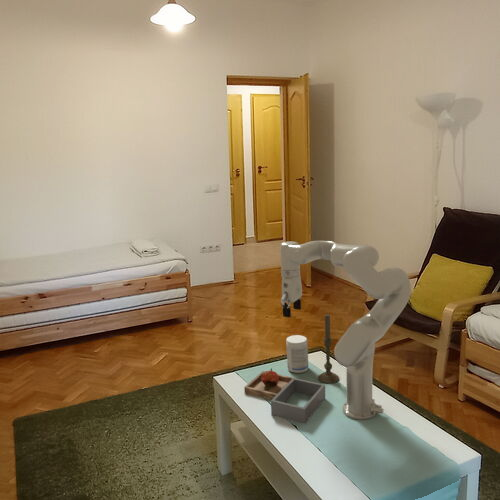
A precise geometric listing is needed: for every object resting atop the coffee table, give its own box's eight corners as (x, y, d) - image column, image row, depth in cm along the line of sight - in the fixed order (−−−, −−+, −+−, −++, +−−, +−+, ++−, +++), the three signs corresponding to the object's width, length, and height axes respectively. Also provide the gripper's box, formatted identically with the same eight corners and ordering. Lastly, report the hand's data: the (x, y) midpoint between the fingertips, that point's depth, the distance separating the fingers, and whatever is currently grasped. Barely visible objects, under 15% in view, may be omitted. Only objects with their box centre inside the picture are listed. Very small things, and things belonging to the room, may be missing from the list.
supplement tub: (312, 368, 220) (311, 338, 217) (299, 375, 214) (298, 345, 210) (296, 362, 227) (295, 333, 224) (283, 369, 221) (281, 339, 217)
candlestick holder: (326, 371, 216) (325, 308, 210) (343, 378, 209) (342, 313, 203) (313, 379, 210) (311, 314, 204) (330, 386, 203) (329, 319, 197)
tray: (295, 383, 207) (295, 378, 206) (278, 401, 194) (278, 395, 193) (263, 376, 215) (262, 371, 214) (244, 392, 202) (244, 387, 201)
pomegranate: (278, 395, 201) (284, 373, 207) (271, 387, 196) (277, 365, 202) (262, 393, 204) (268, 372, 210) (255, 385, 200) (262, 364, 205)
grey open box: (325, 398, 194) (325, 384, 193) (305, 424, 177) (304, 409, 176) (293, 391, 201) (293, 377, 200) (271, 415, 184) (270, 400, 183)
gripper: (289, 279, 184) (291, 321, 188) (308, 268, 198) (309, 307, 202) (272, 277, 188) (274, 318, 191) (291, 266, 202) (293, 305, 206)
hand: (292, 312), depth 197 cm, fingers open, 9 cm apart
